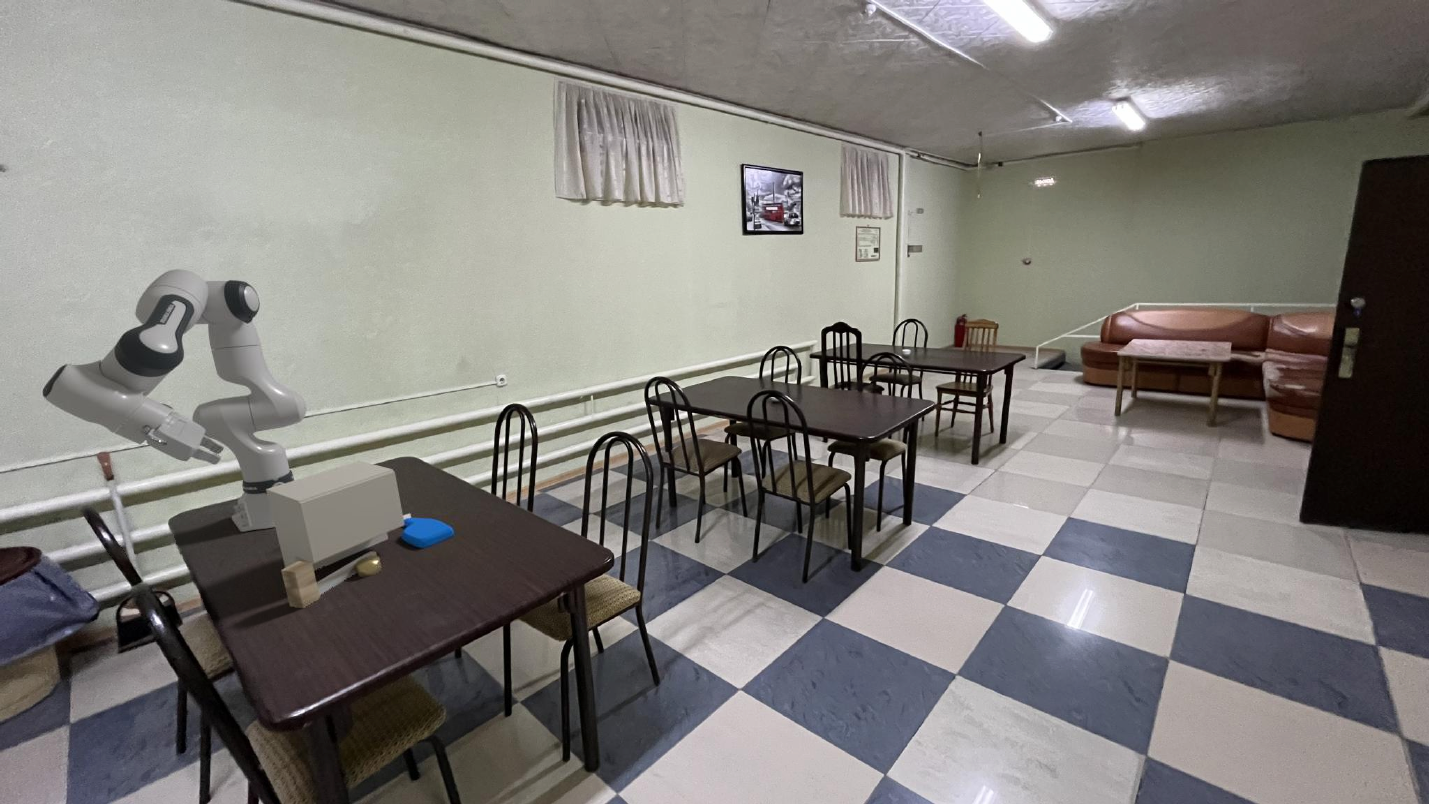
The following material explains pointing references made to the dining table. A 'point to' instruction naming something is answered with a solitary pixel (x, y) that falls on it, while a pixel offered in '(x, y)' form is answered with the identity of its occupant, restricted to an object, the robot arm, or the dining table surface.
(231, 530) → the dining table surface
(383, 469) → the cabinet
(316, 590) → the wooden handled saw
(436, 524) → the spray bottle
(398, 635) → the dining table surface
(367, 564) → the brass puck
